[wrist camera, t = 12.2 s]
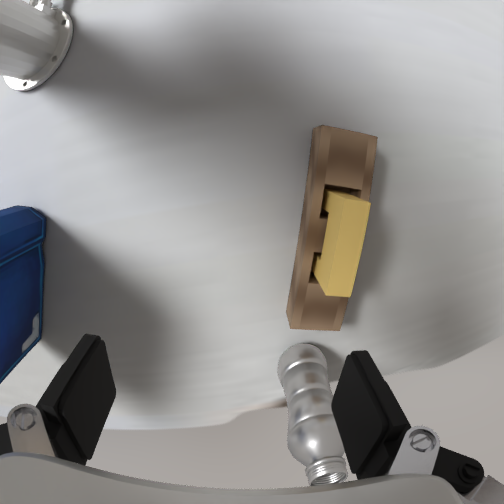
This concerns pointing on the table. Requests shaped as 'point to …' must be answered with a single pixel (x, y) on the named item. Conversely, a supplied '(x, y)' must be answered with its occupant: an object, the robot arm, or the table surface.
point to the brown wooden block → (315, 220)
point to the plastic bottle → (311, 415)
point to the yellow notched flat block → (341, 242)
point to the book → (20, 284)
